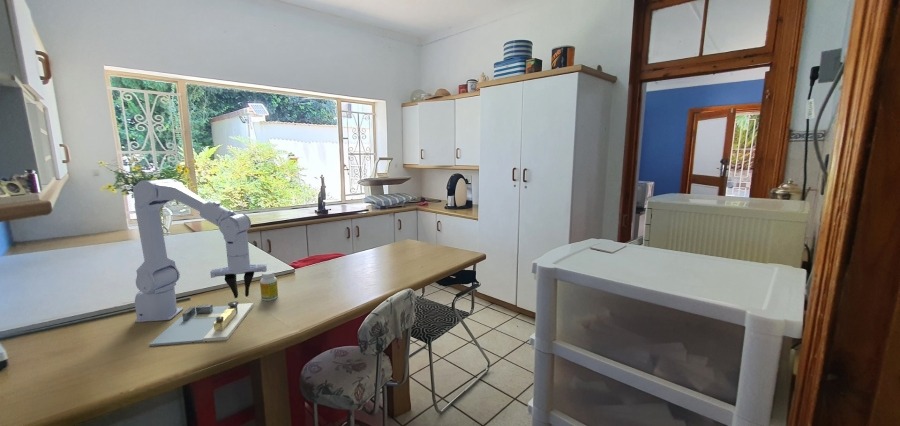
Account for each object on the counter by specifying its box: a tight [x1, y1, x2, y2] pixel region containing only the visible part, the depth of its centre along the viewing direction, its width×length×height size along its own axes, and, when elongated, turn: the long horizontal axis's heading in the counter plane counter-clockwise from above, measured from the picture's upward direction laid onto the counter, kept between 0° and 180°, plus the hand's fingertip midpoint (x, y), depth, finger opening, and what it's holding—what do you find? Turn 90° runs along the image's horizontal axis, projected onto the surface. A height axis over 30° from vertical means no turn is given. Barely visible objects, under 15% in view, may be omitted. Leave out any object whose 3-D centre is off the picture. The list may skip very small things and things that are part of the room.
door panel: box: [149, 302, 255, 347], centre depth 106 cm, size 19×22×1 cm
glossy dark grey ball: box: [227, 300, 239, 314], centre depth 111 cm, size 3×3×4 cm
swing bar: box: [213, 307, 236, 330], centre depth 104 cm, size 10×2×3 cm, turn 12°
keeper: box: [181, 303, 214, 321], centre depth 109 cm, size 6×6×2 cm
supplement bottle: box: [259, 270, 279, 302], centre depth 124 cm, size 5×5×10 cm
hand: (241, 296), depth 106 cm, fingers open, 2 cm apart
